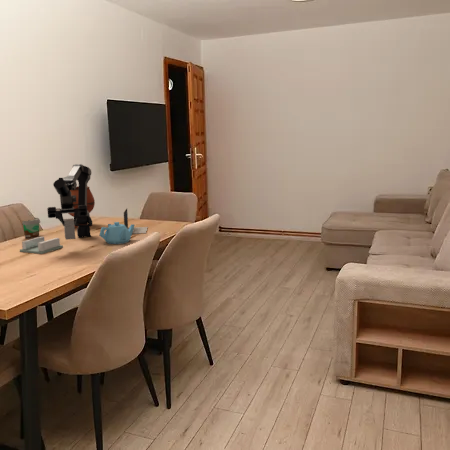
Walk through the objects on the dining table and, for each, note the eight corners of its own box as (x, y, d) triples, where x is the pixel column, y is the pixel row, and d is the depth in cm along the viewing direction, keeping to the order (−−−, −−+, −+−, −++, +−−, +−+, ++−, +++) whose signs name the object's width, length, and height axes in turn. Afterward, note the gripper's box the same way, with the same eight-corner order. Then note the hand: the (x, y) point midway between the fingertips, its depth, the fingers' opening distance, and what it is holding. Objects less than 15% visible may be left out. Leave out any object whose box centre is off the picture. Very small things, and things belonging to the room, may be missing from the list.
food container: (33, 239, 265) (31, 221, 264) (23, 238, 267) (21, 221, 265) (45, 234, 277) (44, 217, 275) (36, 234, 279) (34, 217, 277)
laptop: (146, 234, 278) (145, 212, 275) (124, 234, 276) (123, 212, 274) (147, 228, 295) (147, 207, 293) (127, 228, 294) (126, 207, 292)
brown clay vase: (58, 228, 295) (55, 188, 290) (74, 223, 313) (72, 185, 309) (86, 229, 291) (84, 189, 286) (101, 224, 309) (99, 185, 305)
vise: (41, 245, 250) (40, 235, 249) (63, 247, 245) (62, 237, 244) (19, 251, 236) (18, 241, 235) (41, 253, 231) (41, 243, 230)
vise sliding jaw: (37, 243, 249) (37, 236, 249) (44, 244, 248) (44, 236, 247) (18, 248, 238) (18, 241, 237) (25, 249, 236) (25, 241, 235)
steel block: (74, 236, 239) (73, 218, 238) (75, 238, 233) (74, 220, 231) (64, 236, 238) (63, 219, 236) (65, 239, 231) (64, 221, 230)
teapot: (109, 238, 265) (108, 219, 264) (135, 238, 263) (134, 219, 261) (98, 244, 251) (97, 224, 249) (126, 245, 248) (125, 224, 246)
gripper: (45, 190, 231) (48, 217, 223) (85, 188, 238) (89, 214, 230) (46, 204, 240) (49, 230, 232) (85, 202, 246) (88, 227, 239)
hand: (69, 225), depth 233 cm, fingers closed on steel block, 4 cm apart
